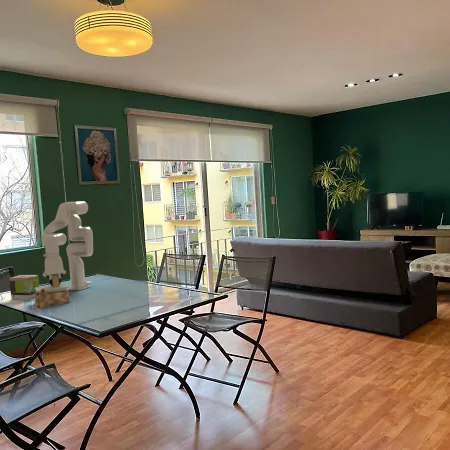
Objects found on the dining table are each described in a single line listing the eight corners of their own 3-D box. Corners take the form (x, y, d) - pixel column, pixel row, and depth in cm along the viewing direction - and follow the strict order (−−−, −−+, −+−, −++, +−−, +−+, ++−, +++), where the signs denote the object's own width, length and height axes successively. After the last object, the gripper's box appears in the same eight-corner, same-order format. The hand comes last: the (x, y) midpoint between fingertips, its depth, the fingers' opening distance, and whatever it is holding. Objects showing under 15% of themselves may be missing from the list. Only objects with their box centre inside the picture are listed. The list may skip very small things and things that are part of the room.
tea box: (41, 297, 290) (39, 274, 289) (29, 301, 281) (27, 277, 279) (22, 296, 295) (20, 274, 294) (10, 300, 286) (8, 277, 284)
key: (44, 293, 262) (44, 288, 261) (46, 296, 253) (46, 291, 253) (41, 293, 261) (40, 288, 261) (42, 297, 252) (42, 291, 252)
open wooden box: (66, 298, 281) (65, 286, 280) (70, 303, 267) (69, 290, 266) (35, 303, 273) (34, 290, 272) (38, 309, 259) (36, 295, 258)
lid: (65, 286, 281) (64, 273, 280) (68, 290, 271) (67, 276, 270) (35, 291, 273) (33, 277, 272) (37, 295, 263) (35, 281, 262)
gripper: (38, 258, 264) (41, 288, 265) (68, 254, 271) (70, 284, 273) (37, 256, 270) (40, 286, 272) (66, 252, 278) (68, 281, 280)
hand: (55, 284), depth 273 cm, fingers closed on lid, 3 cm apart
